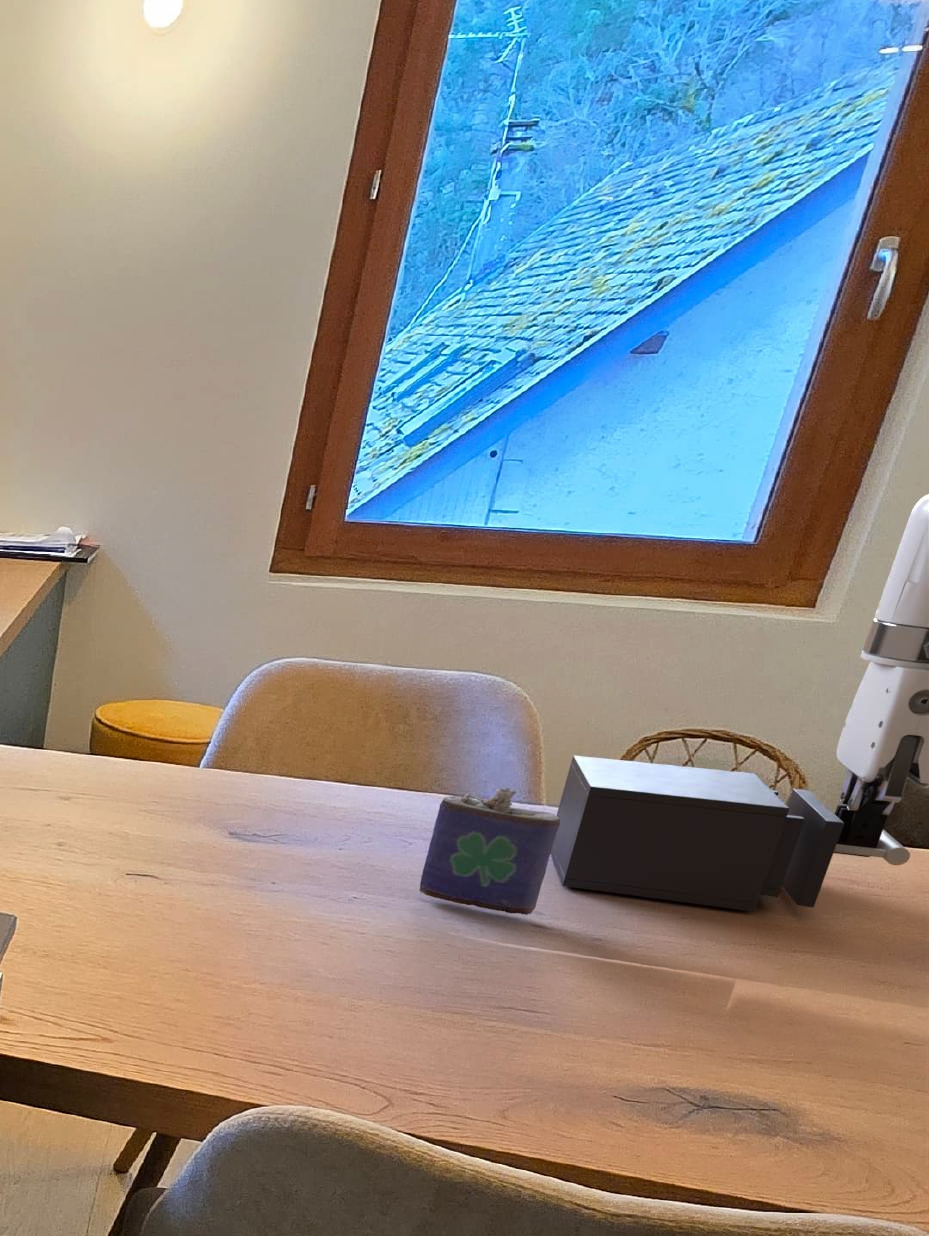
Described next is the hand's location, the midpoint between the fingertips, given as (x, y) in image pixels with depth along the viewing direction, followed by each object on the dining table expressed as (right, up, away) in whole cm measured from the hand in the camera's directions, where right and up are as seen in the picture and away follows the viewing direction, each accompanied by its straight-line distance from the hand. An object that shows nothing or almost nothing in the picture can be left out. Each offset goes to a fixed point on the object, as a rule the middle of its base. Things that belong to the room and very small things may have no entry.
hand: (847, 851), depth 122 cm
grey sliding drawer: (-6, -2, +4) cm, 8 cm away
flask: (-33, -5, +1) cm, 33 cm away
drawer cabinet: (-13, -2, +7) cm, 15 cm away
